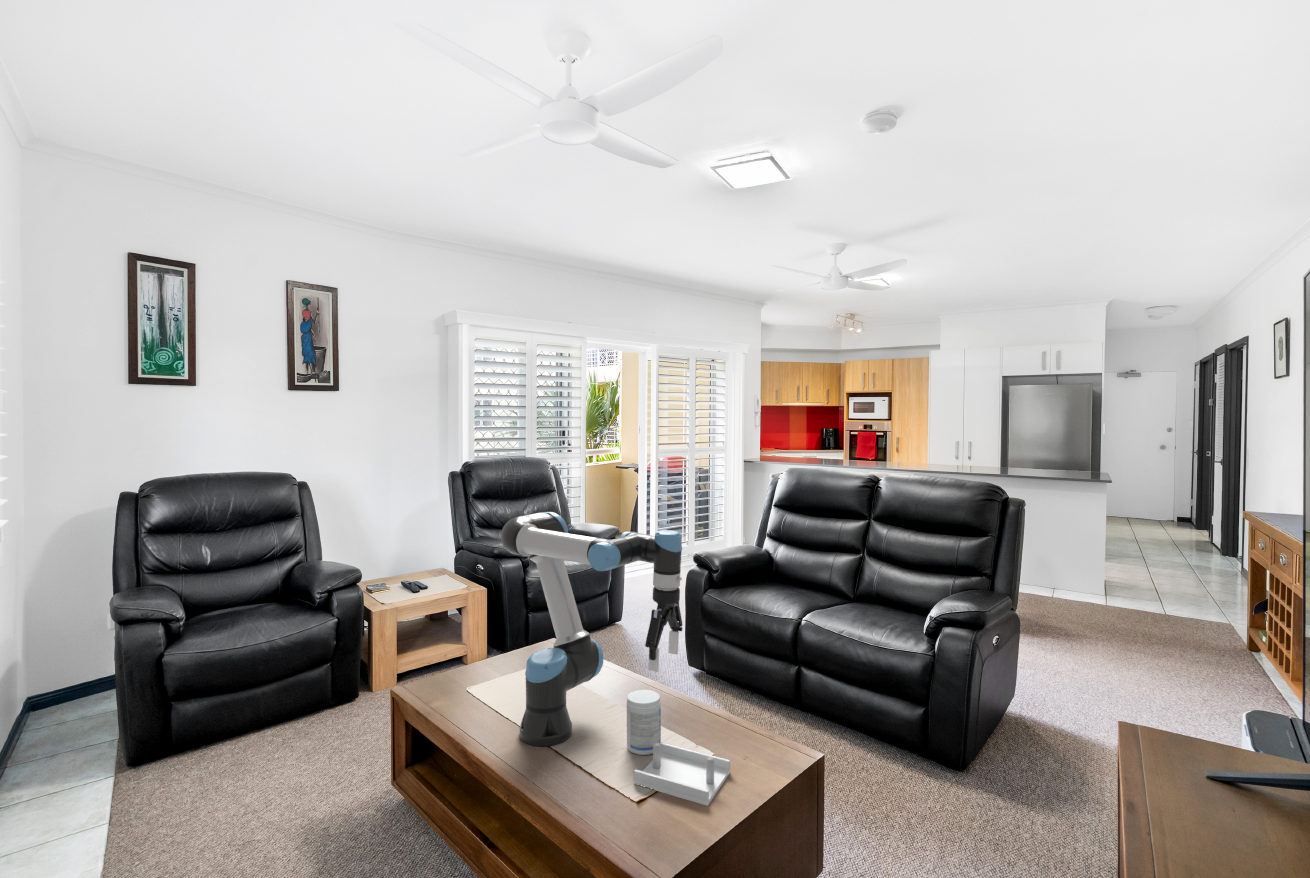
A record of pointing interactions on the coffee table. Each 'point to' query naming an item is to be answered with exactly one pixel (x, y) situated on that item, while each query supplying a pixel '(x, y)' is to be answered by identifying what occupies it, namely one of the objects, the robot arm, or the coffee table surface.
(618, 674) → the coffee table surface
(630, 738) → the supplement tub
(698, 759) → the tray
